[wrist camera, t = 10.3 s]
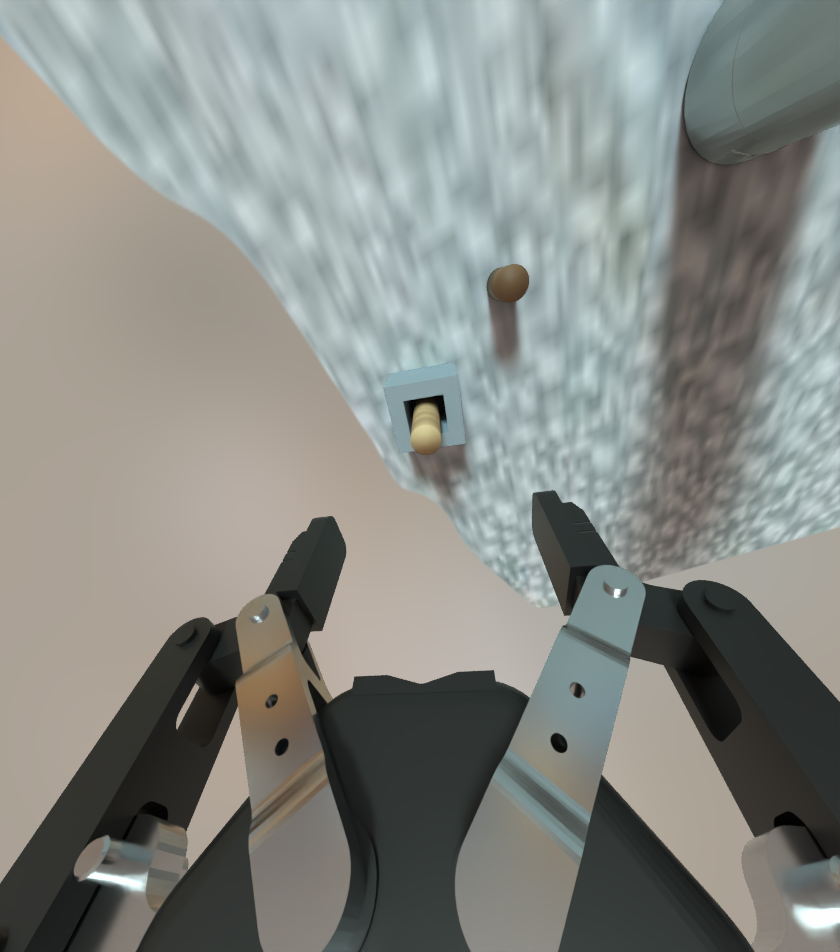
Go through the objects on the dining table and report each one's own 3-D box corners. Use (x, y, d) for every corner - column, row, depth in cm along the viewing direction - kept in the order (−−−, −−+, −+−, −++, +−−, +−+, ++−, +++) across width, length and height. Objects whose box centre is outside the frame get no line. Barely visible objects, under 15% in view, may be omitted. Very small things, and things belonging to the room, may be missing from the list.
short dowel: (485, 270, 26) (495, 268, 22) (514, 264, 26) (529, 261, 22) (487, 302, 27) (496, 305, 23) (515, 297, 27) (528, 299, 23)
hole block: (389, 373, 31) (383, 387, 27) (454, 362, 30) (457, 374, 26) (403, 432, 34) (399, 453, 30) (461, 423, 33) (465, 443, 29)
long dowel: (413, 391, 32) (407, 429, 23) (436, 387, 31) (438, 424, 23) (417, 413, 33) (413, 456, 24) (439, 409, 33) (443, 452, 24)
